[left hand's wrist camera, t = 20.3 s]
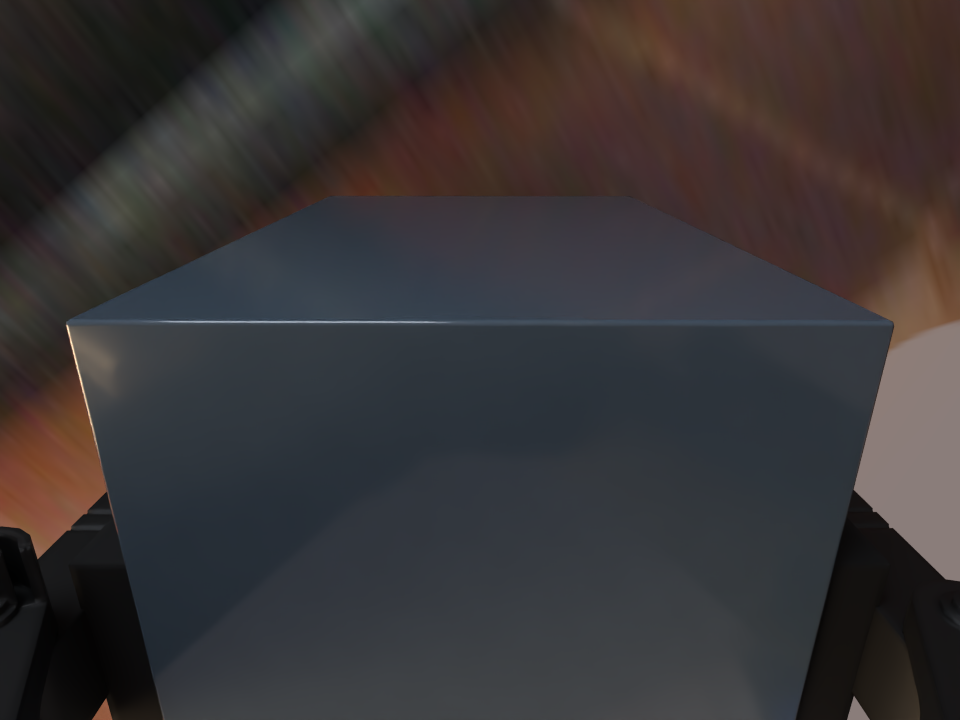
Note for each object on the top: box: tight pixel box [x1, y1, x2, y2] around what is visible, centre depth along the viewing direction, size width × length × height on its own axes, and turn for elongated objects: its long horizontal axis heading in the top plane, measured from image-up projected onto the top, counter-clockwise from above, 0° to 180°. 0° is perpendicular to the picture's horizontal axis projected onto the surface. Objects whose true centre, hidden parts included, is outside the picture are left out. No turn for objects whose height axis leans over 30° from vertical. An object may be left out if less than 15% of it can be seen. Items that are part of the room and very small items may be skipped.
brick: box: [66, 196, 894, 720], centre depth 13 cm, size 9×8×12 cm
